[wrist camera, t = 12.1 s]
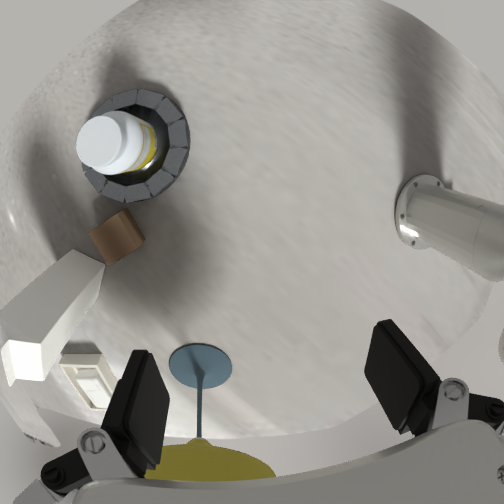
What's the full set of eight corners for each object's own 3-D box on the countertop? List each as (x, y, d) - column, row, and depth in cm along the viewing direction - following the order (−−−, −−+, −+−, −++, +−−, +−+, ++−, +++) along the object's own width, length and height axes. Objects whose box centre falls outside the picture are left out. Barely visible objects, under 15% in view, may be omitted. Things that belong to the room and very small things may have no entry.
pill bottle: (105, 136, 28) (58, 130, 18) (148, 111, 28) (115, 91, 17) (124, 179, 31) (82, 191, 20) (168, 155, 31) (142, 154, 20)
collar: (184, 80, 28) (182, 76, 26) (197, 190, 33) (196, 192, 31) (81, 109, 27) (74, 107, 25) (95, 210, 32) (89, 214, 30)
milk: (67, 281, 35) (-12, 372, 14) (73, 247, 33) (-23, 331, 13) (99, 297, 36) (32, 402, 16) (106, 263, 35) (24, 366, 14)
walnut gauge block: (127, 207, 33) (116, 213, 29) (145, 238, 34) (137, 248, 31) (100, 225, 33) (88, 233, 29) (118, 255, 35) (108, 266, 31)
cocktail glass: (153, 314, 38) (112, 463, 15) (267, 337, 42) (308, 478, 19) (146, 388, 43) (126, 505, 20) (237, 404, 47) (253, 517, 24)
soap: (120, 398, 43) (117, 409, 40) (99, 398, 43) (95, 408, 40) (99, 367, 40) (95, 378, 37) (78, 367, 40) (73, 378, 37)
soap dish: (102, 353, 40) (97, 364, 37) (129, 401, 44) (126, 412, 42) (64, 353, 39) (58, 363, 36) (93, 399, 44) (89, 409, 41)
